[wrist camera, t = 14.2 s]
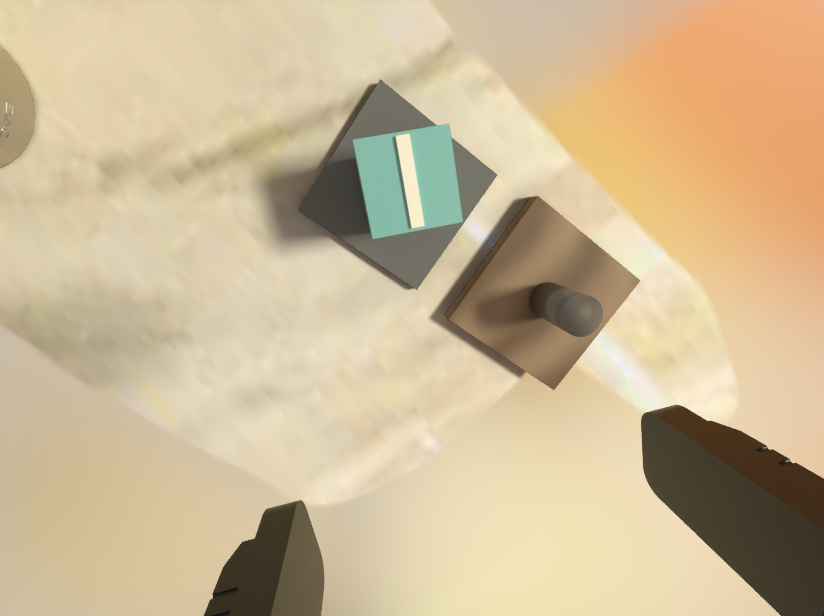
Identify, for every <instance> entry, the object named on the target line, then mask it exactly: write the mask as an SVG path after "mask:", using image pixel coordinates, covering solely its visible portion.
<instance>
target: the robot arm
mask: <svg viewBox="0 0 824 616" xmlns="http://www.w3.org/2000/svg"><path fill="white" fill-rule="evenodd" d="M34 124H35V107H34V100H33V96H32V93H31V90H30V87H29V84H28V82H27V80H26V78H25V76H24V75H23V73H22V71H21V69H20V68H19V66H18V65H17V64H16V62H15V61H14V60H13V59H12V57H11V56H10V55H9V54H8V52H7V51H6V50H4V49H3V48H2V47H1V46H0V167H3V166H5V165H7V164H9V163H11V162H12V161H13V160H15V159H16V158H17V157H18V156H19V155H21V154H22V152H23V151H24V149H25V148H26V147H27V145H28V144H29V142H30V139H31V136H32V133H33V131H34ZM641 429H642V430H641V431H642V451H643V469H644V474H645V477H646V479H647V482H648V484H649V485H650V487H651V489H652V490H653V492H654V493H655V494H656V495H657V496H658V498H660V500H661V501H663V502H664V503H665V504H666V505H667V506H668V507H669V508H670V509H671V510H672V511H673V512H674V513H675V514H676V515H677V516H678V517H679V518H680V519H681V520H682V521H684V523H685V524H687V526H689V527H690V528H691V529H692V530H693V531H694V532H695V533H696V534H697V535H698V536H699V537H700V538H701V539H702V540H703V541H704V542H705V543H706V544H707V545H708V546H709V547H710V548H711V549H713V551H715V552H716V553H717V554H718V555H719V556H720V557H721V558H722V559H723V560H724V561H725V562H726V563H727V564H728V565H729V566H730V567H731V568H732V569H733V570H734V571H735V572H736V573H738V574H739V575H740V576H741V577H742V578H743V579H744V580H745V581H746V582H747V583H748V584H749V585H750V586H751V587H752V588H753V589H754V590H755V591H756V592H757V593H758V594H759V595H760V596H761V597H762V598H763V599H764V600H766V601H767V602H768V603H769V604H770V605H771V606H772V607H773V608H774V609H775V610H776V611H777V612H778V613H779V614H780V615H781V616H824V479H823V478H821V477H820V476H818V475H816V474H815V473H813V472H811V471H809V470H807V469H806V468H804V467H802V466H801V465H799V464H797V463H792V462H791V461H790V459H788V458H787V457H785V456H783V455H781V454H780V453H778V452H776V451H775V450H773V449H772V450H769V449H768V448H767V446H766V445H764V444H762V443H761V442H759V441H757V440H755V439H754V438H752V437H750V436H748V435H747V434H745V433H743V432H742V431H739V430H736V429H733V428H730V427H727V426H725V425H722V424H719V423H716V422H713V421H707V420H705V419H703V418H702V417H700V416H698V415H697V414H695V413H693V412H692V411H690V410H688V409H687V408H685V407H683V406H680V405H674V406H670V407H666V408H662V409H658V410H654V411H650V412H646V413H644V414H643V416H642V420H641ZM323 590H324V568H323V560H322V556H321V552H320V549H319V546H318V543H317V540H316V537H315V534H314V531H313V528H312V525H311V521H310V518H309V515H308V513H307V509H306V507H305V504H304V503H303V501H301V500H299V501H295V502H292V503H288V504H284V505H280V506H276V507H272V508H268V509H266V510H265V512H264V513H263V516H262V519H261V522H260V525H259V528H258V531H257V534H256V537H255V539H252V540H248V541H244V542H242V543H241V544H240V546H239V547H238V548H237V550H236V551H235V552H234V554H233V555H232V556H231V558H230V559H229V560H228V561H227V563H226V564H225V566H224V567H223V569H222V572H221V574H220V577H219V579H218V582H217V584H216V587H215V589H214V592H213V599H211V600H210V602H209V604H208V607H207V609H206V612H205V614H204V616H321V610H322V601H323Z"/></svg>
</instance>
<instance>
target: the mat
mask: <svg viewBox="0 0 824 616" xmlns="http://www.w3.org/2000/svg"><path fill="white" fill-rule="evenodd" d="M432 126H437V125H436V124H434V123H433V122H432V121H431V120H429V119H428V118H427V117H426V116H425V115H423V114H422V113H421V112H420V111H418V110H417V109H416V108H415V107H413V106H412V105H411V104H410V103H409V102H407V101H406V100H405V99H404V98H402V97H401V96H400V95H399V94H398V93H396V92H395V91H394V90H393V89H391V88H390V87H389V86H388V85H386V84H385V83H384V82H383V81H382V80H380V81H379V83H378V84H377V86H376V87H375V89H374V91H373V92H372V94H371V95H370V97H369V98H368V100H367V102H366V103H365V105H364V106H363V108H362V109H361V111H360V113H359V114H358V116H357V117H356V119H355V121H354V122H353V124H352V125H351V127H350V128H349V130H348V132H347V133H346V135H345V136H344V138H343V140H342V141H341V143H340V144H339V146H338V147H337V149H336V151H335V152H334V154H333V155H332V157H331V159H330V160H329V162H328V163H327V165H326V166H325V168H324V170H323V171H322V173H321V174H320V176H319V178H318V179H317V181H316V182H315V184H314V185H313V187H312V189H311V190H310V192H309V193H308V195H307V197H306V198H305V200H304V201H303V203H302V204H301V206H300V208H299V209H298V210H299V211H301V212H302V213H304V214H305V215H306V216H308V217H309V218H311V219H312V220H314V221H315V222H317V223H318V224H320V225H321V226H323V227H324V228H326V229H327V230H329V231H330V232H332V233H333V234H335V235H336V236H338V237H339V238H341V239H342V240H344V241H345V242H346V243H348V244H349V245H351V246H352V247H354V248H355V249H357V250H358V251H360V252H361V253H363V254H364V255H366V256H367V257H369V258H370V259H372V260H373V261H375V262H376V263H378V264H379V265H381V266H382V267H384V268H385V269H386V270H388V271H389V272H391V273H392V274H394V275H395V276H397V277H398V278H400V279H401V280H403V281H404V282H406V283H407V284H409V285H410V286H412V287H413V288H415V289H416V290H417V289H418V287H419V286H420V285H421V283H422V282H423V280H424V279H425V277H426V276H427V275H428V273H429V272H430V270H431V269H432V267H433V266H434V265H435V263H436V262H437V260H438V259H439V257H440V256H441V255H442V253H443V252H444V250H445V249H446V248H447V246H448V245H449V243H450V242H451V240H452V239H453V238H454V236H455V235H456V233H457V232H458V230H459V229H460V228H461V226H462V225H463V223H464V222H465V220H466V219H467V218H468V216H469V215H470V213H471V212H472V210H473V209H474V208H475V206H476V205H477V203H478V202H479V200H480V199H481V198H482V196H483V195H484V193H485V192H486V190H487V189H488V188H489V186H490V185H491V183H492V182H493V180H494V179H495V178H496V176H497V174H496V173H494V172H493V171H492V170H491V169H490V168H488V167H487V166H486V165H485V164H483V163H482V162H481V161H480V160H478V159H477V158H476V157H475V156H474V155H472V154H471V153H470V152H469V151H467V150H466V149H465V148H464V147H463V146H461V145H460V144H459V143H458V142H456V141H455V140H454V139H453V138H451V139H452V146H453V153H454V161H455V168H456V175H457V182H458V189H459V197H460V204H461V211H462V218H463V222H461V223H455V224H450V225H445V226H440V227H434V228H429V229H424V230H418V231H413V232H408V233H402V234H397V235H392V236H387V237H381V238H376V239H373V238H372V236H371V233H370V229H369V224H368V219H367V214H366V209H365V204H364V199H363V194H362V189H361V184H360V179H359V174H358V169H357V164H356V159H355V153H354V145H353V140H354V139H360V138H366V137H372V136H378V135H384V134H390V133H396V132H402V131H408V130H414V129H420V128H426V127H432Z"/></svg>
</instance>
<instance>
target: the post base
mask: <svg viewBox="0 0 824 616" xmlns="http://www.w3.org/2000/svg"><path fill="white" fill-rule="evenodd" d="M639 282H640V280H639V279H638V278H637V277H635V276H634V275H633V274H632V273H631V272H629V271H628V270H627V269H626V268H625V267H623V266H622V265H621V264H620V263H619V262H617V261H616V260H615V259H614V258H612V257H611V256H610V255H609V254H608V253H606V252H605V251H604V250H603V249H602V248H600V247H599V246H598V245H597V244H595V243H594V242H593V241H592V240H591V239H589V238H588V237H587V236H586V235H585V234H583V233H582V232H581V231H580V230H579V229H577V228H576V227H575V226H574V225H572V224H571V223H570V222H569V221H568V220H566V219H565V218H564V217H563V216H562V215H560V214H559V213H558V212H557V211H555V210H554V209H553V208H552V207H551V206H549V205H548V204H547V203H546V202H545V201H543V200H542V199H541V198H540V197H539V196H535V197H530V198H529V199H528V200H527V202H526V203H525V205H524V206H523V207H522V209H521V210H520V212H519V213H518V214H517V216H516V217H515V218H514V220H513V221H512V223H511V224H510V225H509V227H508V228H507V230H506V231H505V232H504V234H503V235H502V237H501V238H500V239H499V241H498V242H497V243H496V245H495V246H494V248H493V249H492V250H491V252H490V253H489V255H488V256H487V257H486V259H485V260H484V262H483V263H482V264H481V266H480V267H479V268H478V270H477V271H476V273H475V274H474V275H473V277H472V278H471V280H470V281H469V282H468V284H467V285H466V287H465V288H464V289H463V291H462V292H461V293H460V295H459V296H458V298H457V299H456V300H455V302H454V303H453V305H452V306H451V307H450V309H449V310H448V312H447V313H446V314H445V316H446V317H447V318H448V319H449V320H450V321H451V322H453V323H454V324H456V325H457V326H459V327H460V328H462V329H463V330H465V331H466V332H468V333H469V334H471V335H472V336H474V337H475V338H477V339H478V340H480V341H481V342H483V343H484V344H486V345H487V346H489V347H490V348H492V349H493V350H495V351H496V352H498V353H499V354H501V355H502V356H504V357H505V358H507V359H508V360H510V361H511V362H513V363H514V364H516V365H517V366H519V367H520V368H522V369H523V370H525V371H526V372H528V373H529V374H531V375H532V376H534V377H535V378H537V379H538V380H540V381H541V382H543V383H544V384H546V385H547V386H549V387H550V388H552V389H553V390H554V389H555V388H556V387H557V385H558V384H559V383H560V382H561V381H562V379H563V378H564V377H565V375H566V374H567V373H568V372H569V370H570V369H571V368H572V367H573V365H574V364H575V363H576V362H577V360H578V359H579V358H580V356H581V355H582V354H583V353H584V351H585V350H586V349H587V348H588V346H589V345H590V344H591V343H592V341H593V340H594V339H595V337H596V336H597V335H598V334H599V332H600V331H601V330H602V329H603V327H604V326H605V325H606V324H607V322H608V321H609V320H610V318H611V317H612V316H613V315H614V313H615V312H616V311H617V310H618V308H619V307H620V306H621V305H622V303H623V302H624V301H625V299H626V298H627V297H628V296H629V294H630V293H631V292H632V291H633V289H634V288H635V287H636V286H637V284H638V283H639Z"/></svg>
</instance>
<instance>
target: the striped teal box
mask: <svg viewBox="0 0 824 616" xmlns="http://www.w3.org/2000/svg"><path fill="white" fill-rule="evenodd" d="M353 145H354V153H355V159H356V164H357V169H358V174H359V179H360V184H361V189H362V194H363V199H364V204H365V209H366V214H367V219H368V224H369V229H370V233H371V236H372V238H373V239H376V238H381V237H387V236H392V235H397V234H402V233H408V232H413V231H418V230H424V229H429V228H434V227H440V226H445V225H450V224H455V223H461V222H463V218H462V211H461V204H460V197H459V189H458V182H457V175H456V168H455V161H454V153H453V146H452V139H451V132H450V124H444V125H438V126H432V127H426V128H420V129H414V130H408V131H402V132H396V133H390V134H384V135H378V136H372V137H366V138H360V139H354V140H353Z"/></svg>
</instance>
